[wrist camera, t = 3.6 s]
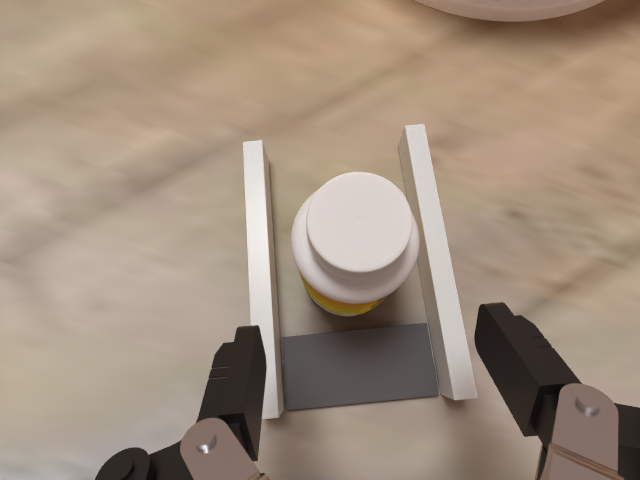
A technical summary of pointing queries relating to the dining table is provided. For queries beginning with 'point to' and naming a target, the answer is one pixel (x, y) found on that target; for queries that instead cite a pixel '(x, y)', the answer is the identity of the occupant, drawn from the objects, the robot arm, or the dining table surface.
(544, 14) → the plate stack
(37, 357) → the dining table surface
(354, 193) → the supplement bottle
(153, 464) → the robot arm
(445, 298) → the trap channel
